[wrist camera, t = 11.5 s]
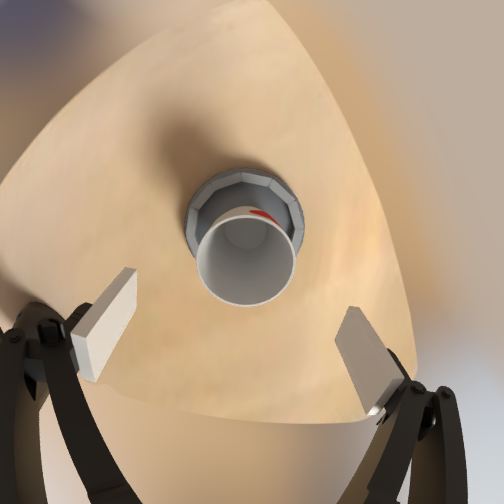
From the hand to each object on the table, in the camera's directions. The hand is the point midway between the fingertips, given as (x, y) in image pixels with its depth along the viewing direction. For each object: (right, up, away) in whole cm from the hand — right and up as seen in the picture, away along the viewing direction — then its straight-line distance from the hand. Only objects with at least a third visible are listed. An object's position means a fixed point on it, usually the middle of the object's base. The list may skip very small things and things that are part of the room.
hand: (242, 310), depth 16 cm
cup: (0, +6, +16) cm, 17 cm away
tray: (0, +6, +17) cm, 18 cm away
